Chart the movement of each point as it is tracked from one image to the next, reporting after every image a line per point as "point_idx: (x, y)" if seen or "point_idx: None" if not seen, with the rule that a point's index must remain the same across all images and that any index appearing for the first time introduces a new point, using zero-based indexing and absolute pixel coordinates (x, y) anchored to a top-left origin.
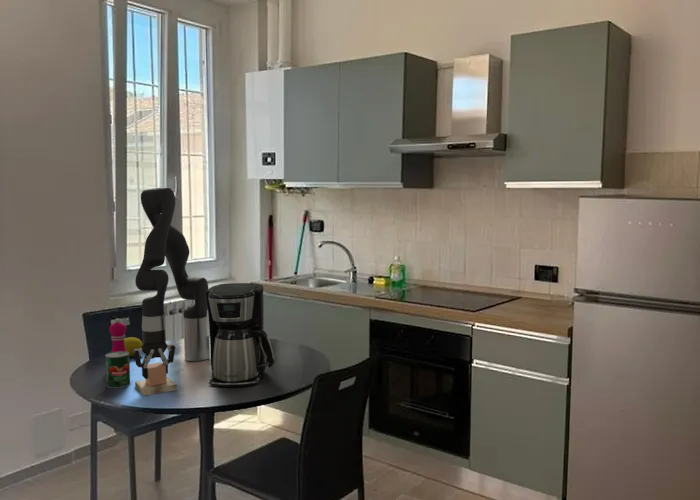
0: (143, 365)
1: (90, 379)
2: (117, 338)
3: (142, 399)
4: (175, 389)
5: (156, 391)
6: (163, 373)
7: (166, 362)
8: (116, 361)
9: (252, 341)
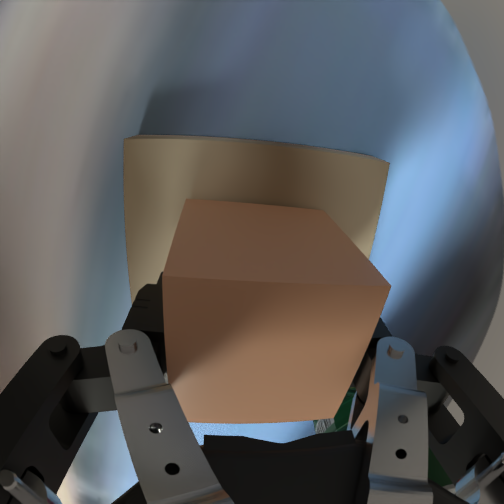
0: (411, 364)
1: None
2: None
3: (404, 96)
4: (146, 135)
5: (292, 144)
6: (204, 233)
7: (125, 352)
8: (440, 468)
9: None
